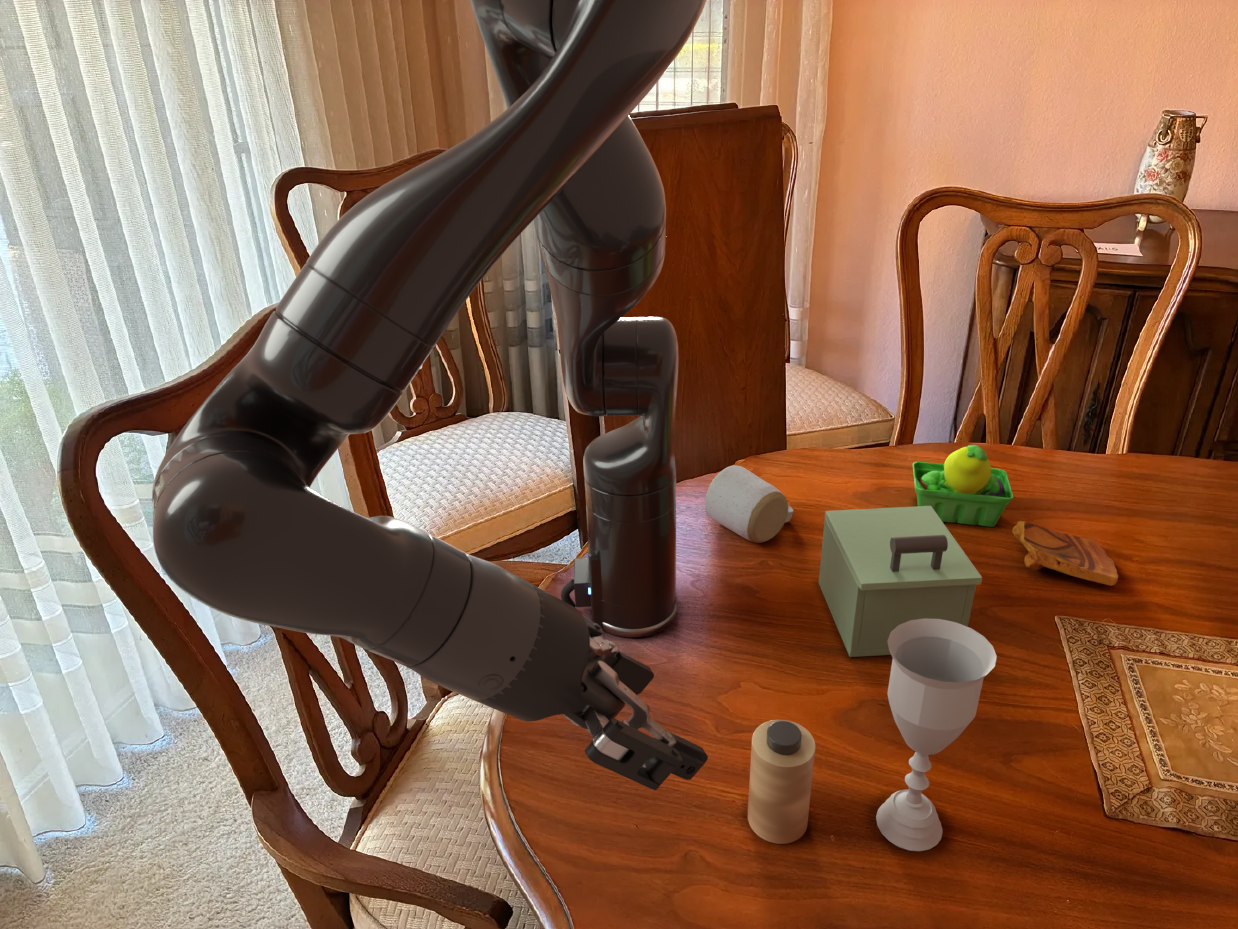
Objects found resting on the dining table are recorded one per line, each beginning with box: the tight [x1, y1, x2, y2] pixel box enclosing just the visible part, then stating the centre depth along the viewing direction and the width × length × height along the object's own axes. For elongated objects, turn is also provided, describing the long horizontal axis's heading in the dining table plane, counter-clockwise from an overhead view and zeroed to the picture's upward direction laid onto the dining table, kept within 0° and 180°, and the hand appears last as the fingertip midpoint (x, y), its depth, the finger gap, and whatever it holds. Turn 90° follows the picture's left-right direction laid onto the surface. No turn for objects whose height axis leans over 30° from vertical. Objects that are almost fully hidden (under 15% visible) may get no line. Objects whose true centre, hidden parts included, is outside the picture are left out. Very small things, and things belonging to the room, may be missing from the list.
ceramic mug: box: [704, 464, 794, 544], centre depth 107 cm, size 11×8×8 cm
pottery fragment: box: [1011, 520, 1119, 586], centre depth 98 cm, size 10×5×10 cm
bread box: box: [818, 517, 977, 658], centre depth 90 cm, size 13×12×9 cm
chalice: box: [875, 618, 998, 852], centre depth 64 cm, size 7×7×18 cm
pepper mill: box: [747, 719, 817, 845], centre depth 67 cm, size 5×5×10 cm
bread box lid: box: [824, 505, 983, 591], centre depth 86 cm, size 13×12×4 cm
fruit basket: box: [912, 444, 1014, 528], centre depth 106 cm, size 11×9×11 cm
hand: (669, 721), depth 60 cm, fingers open, 8 cm apart
